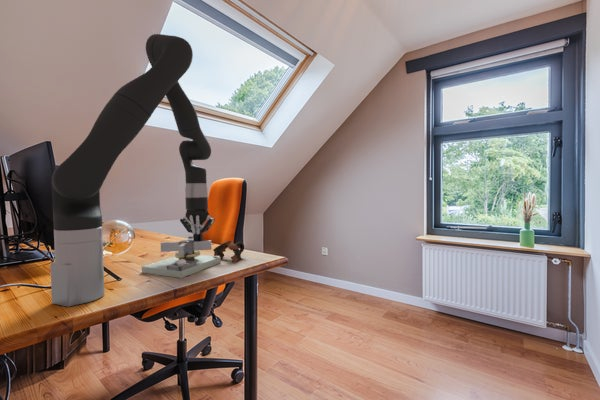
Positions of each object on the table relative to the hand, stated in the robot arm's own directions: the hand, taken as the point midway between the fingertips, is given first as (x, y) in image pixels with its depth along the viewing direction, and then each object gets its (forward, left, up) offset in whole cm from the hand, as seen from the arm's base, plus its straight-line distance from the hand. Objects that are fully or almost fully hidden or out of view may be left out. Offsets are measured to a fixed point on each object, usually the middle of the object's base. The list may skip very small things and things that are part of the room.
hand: (198, 244), depth 103 cm
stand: (-7, 0, -7) cm, 10 cm away
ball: (-13, -5, -3) cm, 14 cm away
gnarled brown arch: (+8, -8, -7) cm, 13 cm away
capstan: (-6, -1, -5) cm, 8 cm away
